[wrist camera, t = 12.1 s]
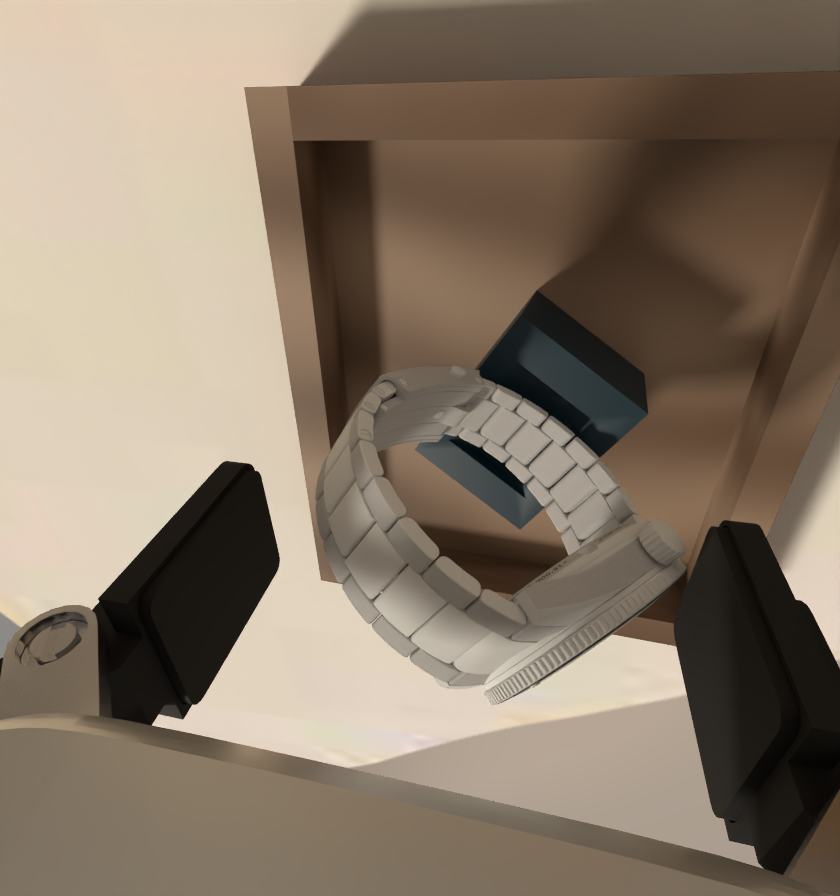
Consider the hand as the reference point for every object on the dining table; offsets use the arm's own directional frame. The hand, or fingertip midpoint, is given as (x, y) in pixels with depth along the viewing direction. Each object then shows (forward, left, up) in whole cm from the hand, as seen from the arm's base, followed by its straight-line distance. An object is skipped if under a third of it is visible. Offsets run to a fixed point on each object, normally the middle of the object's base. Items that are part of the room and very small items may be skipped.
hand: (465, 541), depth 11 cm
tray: (+1, +1, -10) cm, 10 cm away
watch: (0, +1, -9) cm, 9 cm away
